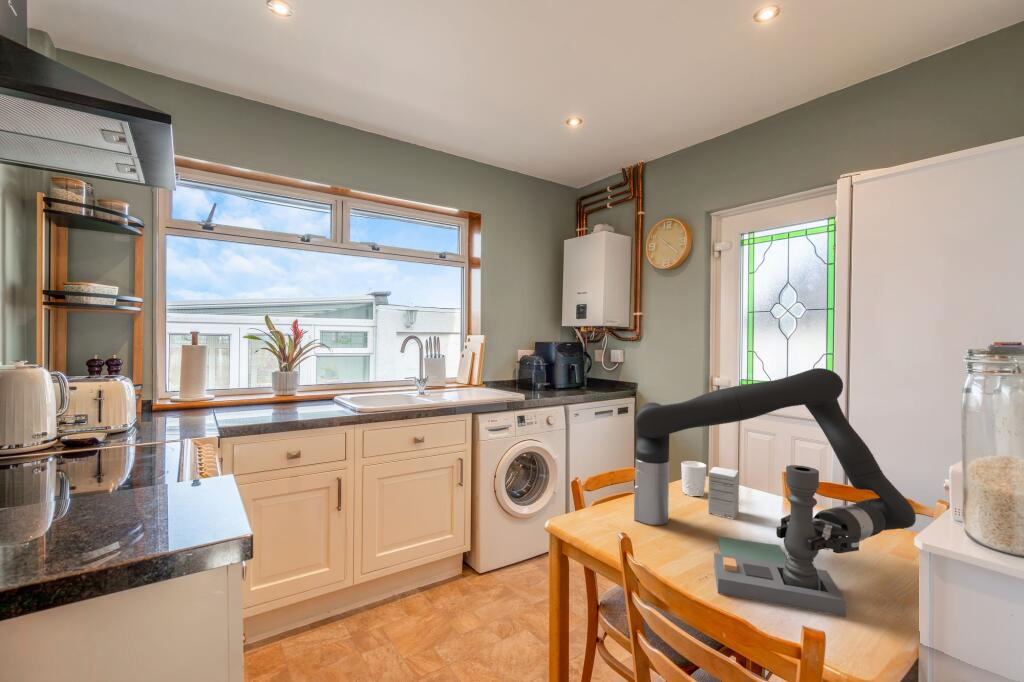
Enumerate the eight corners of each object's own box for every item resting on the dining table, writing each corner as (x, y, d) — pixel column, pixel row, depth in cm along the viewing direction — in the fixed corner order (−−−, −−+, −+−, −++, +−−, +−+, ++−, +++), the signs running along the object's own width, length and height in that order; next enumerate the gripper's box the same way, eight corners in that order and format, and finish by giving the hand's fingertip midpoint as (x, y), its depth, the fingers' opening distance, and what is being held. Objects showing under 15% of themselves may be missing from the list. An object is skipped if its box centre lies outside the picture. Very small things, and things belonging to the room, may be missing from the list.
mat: (722, 561, 107) (722, 557, 107) (718, 540, 118) (718, 536, 118) (790, 572, 102) (791, 568, 102) (779, 549, 113) (779, 545, 113)
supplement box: (713, 506, 142) (713, 466, 142) (739, 512, 138) (739, 470, 138) (707, 513, 136) (707, 471, 136) (734, 519, 132) (735, 476, 132)
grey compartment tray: (718, 593, 94) (718, 572, 94) (713, 565, 105) (714, 547, 105) (845, 616, 86) (846, 594, 86) (826, 584, 97) (826, 564, 97)
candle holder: (824, 600, 90) (826, 474, 90) (789, 596, 91) (791, 472, 91) (810, 583, 96) (812, 465, 96) (778, 580, 97) (780, 463, 97)
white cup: (676, 490, 157) (677, 461, 157) (698, 489, 158) (699, 460, 158) (687, 498, 149) (687, 467, 149) (710, 497, 150) (711, 467, 150)
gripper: (810, 497, 106) (761, 508, 99) (881, 520, 93) (831, 535, 86) (809, 529, 106) (760, 542, 99) (880, 557, 93) (830, 574, 86)
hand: (793, 539), depth 93 cm, fingers closed on candle holder, 5 cm apart
